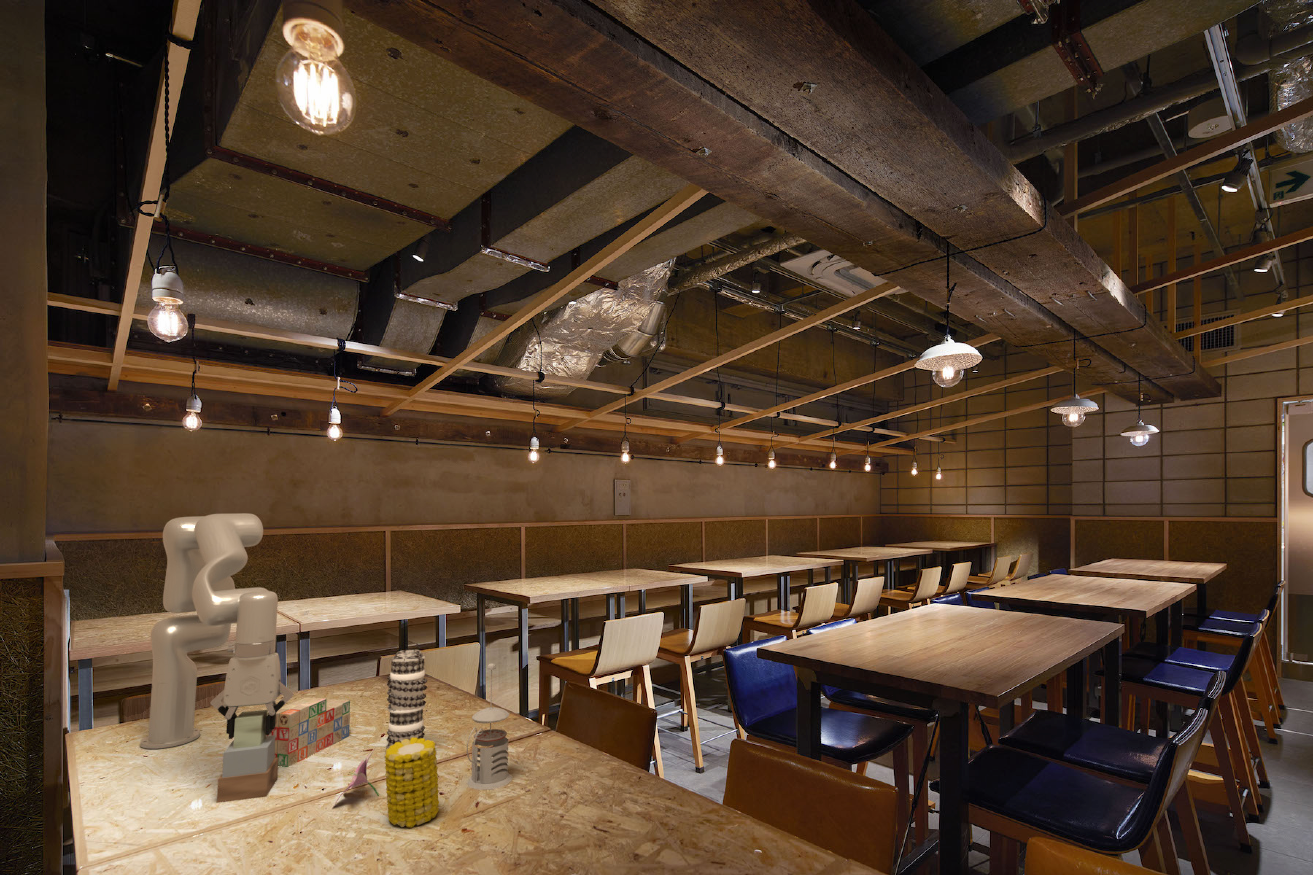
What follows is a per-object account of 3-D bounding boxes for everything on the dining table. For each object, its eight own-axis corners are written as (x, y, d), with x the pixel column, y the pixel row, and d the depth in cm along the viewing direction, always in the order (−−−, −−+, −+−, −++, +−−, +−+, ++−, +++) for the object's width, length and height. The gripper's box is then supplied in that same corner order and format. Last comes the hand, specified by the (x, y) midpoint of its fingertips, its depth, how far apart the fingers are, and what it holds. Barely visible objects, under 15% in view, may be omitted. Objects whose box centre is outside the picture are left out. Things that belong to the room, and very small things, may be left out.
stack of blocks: (329, 734, 174) (331, 687, 175) (349, 736, 172) (351, 688, 174) (264, 766, 153) (267, 711, 154) (287, 768, 152) (290, 713, 153)
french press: (521, 775, 146) (522, 660, 149) (487, 796, 136) (489, 672, 138) (486, 768, 150) (488, 656, 153) (451, 788, 140) (453, 668, 142)
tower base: (231, 786, 142) (232, 762, 143) (277, 780, 145) (278, 757, 146) (216, 803, 134) (218, 778, 134) (266, 797, 136) (267, 772, 137)
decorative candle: (375, 762, 154) (379, 654, 157) (404, 749, 163) (407, 646, 165) (405, 768, 151) (409, 657, 153) (433, 754, 159) (436, 649, 162)
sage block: (240, 740, 142) (242, 711, 143) (266, 737, 144) (268, 709, 144) (233, 748, 137) (235, 718, 138) (260, 745, 139) (261, 716, 140)
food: (447, 820, 128) (403, 846, 120) (410, 793, 135) (365, 815, 126) (458, 747, 128) (414, 767, 119) (420, 723, 134) (376, 740, 125)
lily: (367, 786, 144) (345, 750, 142) (409, 770, 141) (387, 733, 140) (333, 829, 132) (308, 791, 131) (378, 813, 129) (353, 773, 128)
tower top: (232, 763, 142) (233, 739, 143) (274, 758, 145) (275, 735, 145) (222, 777, 135) (223, 752, 135) (266, 772, 137) (267, 747, 138)
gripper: (203, 656, 136) (197, 745, 135) (296, 649, 142) (291, 736, 140) (215, 648, 144) (210, 733, 142) (303, 643, 149) (299, 724, 147)
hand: (250, 733), depth 141 cm, fingers open, 6 cm apart
